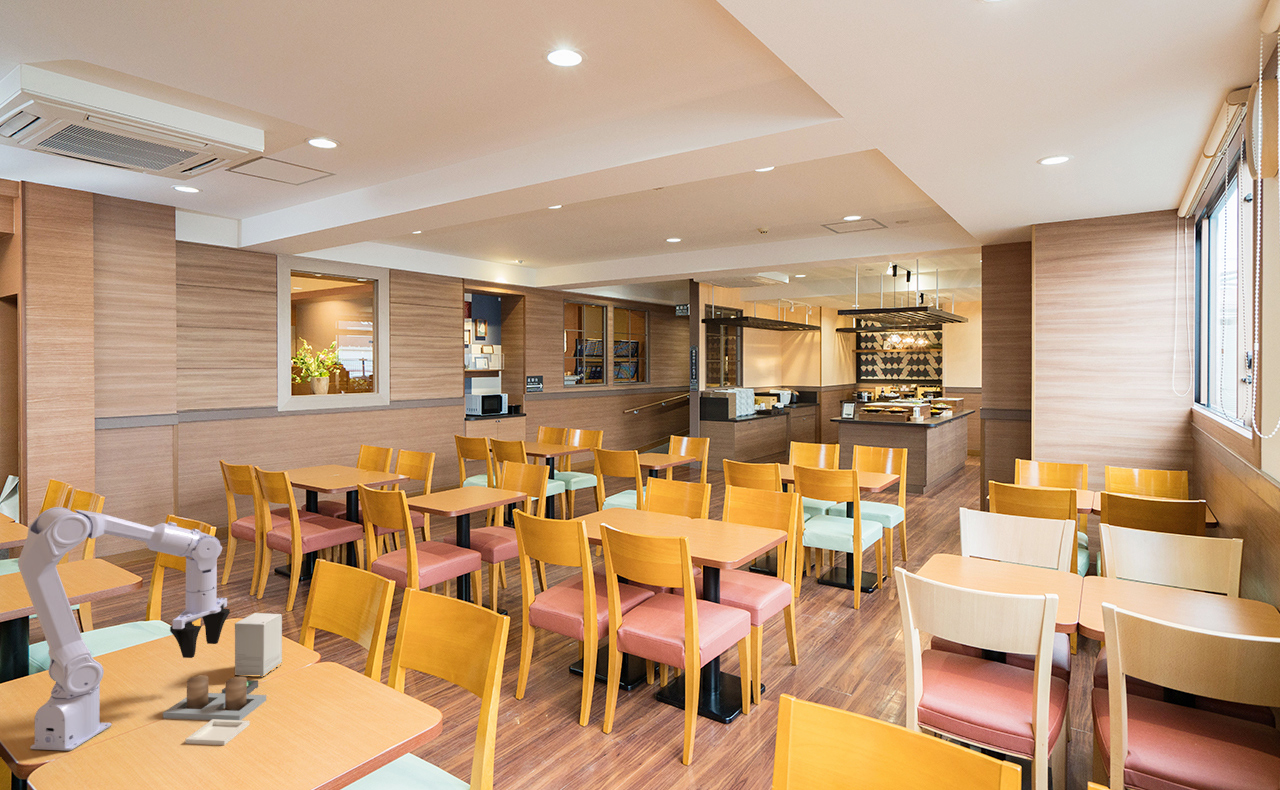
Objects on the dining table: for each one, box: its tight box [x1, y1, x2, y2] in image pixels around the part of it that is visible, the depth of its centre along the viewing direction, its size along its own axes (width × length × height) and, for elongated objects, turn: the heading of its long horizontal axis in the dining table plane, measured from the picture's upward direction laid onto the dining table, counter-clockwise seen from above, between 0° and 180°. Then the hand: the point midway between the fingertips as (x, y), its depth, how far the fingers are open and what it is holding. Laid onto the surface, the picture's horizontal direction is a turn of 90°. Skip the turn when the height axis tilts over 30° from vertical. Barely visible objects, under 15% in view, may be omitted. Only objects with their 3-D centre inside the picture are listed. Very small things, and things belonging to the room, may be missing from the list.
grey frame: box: [162, 692, 267, 721], centre depth 141 cm, size 9×16×2 cm, turn 88°
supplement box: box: [234, 612, 283, 676], centre depth 160 cm, size 7×7×13 cm
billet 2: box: [224, 676, 248, 711], centre depth 141 cm, size 4×4×6 cm
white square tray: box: [184, 719, 251, 746], centre depth 131 cm, size 8×8×1 cm
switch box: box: [221, 679, 259, 694], centre depth 149 cm, size 5×5×2 cm
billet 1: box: [186, 674, 209, 709], centre depth 141 cm, size 4×4×6 cm
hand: (200, 650), depth 148 cm, fingers open, 7 cm apart
